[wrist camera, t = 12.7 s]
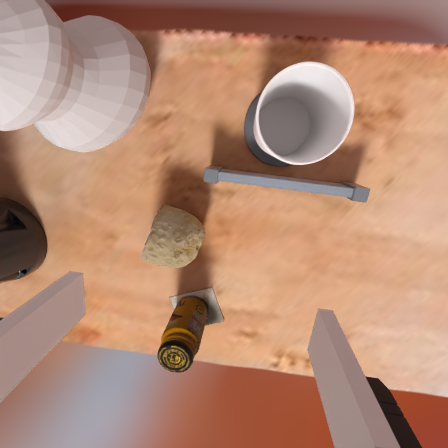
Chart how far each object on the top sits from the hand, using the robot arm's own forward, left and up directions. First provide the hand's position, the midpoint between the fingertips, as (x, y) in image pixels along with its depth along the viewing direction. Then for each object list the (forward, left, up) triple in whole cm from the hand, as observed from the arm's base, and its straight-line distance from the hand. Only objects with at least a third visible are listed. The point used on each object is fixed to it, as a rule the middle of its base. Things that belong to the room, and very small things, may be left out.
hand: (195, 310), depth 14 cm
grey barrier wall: (+7, +4, -29) cm, 30 cm away
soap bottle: (-19, +13, -29) cm, 37 cm away
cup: (+6, +12, -28) cm, 31 cm away
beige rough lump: (-8, -6, -29) cm, 31 cm away
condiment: (-4, -21, -29) cm, 36 cm away
